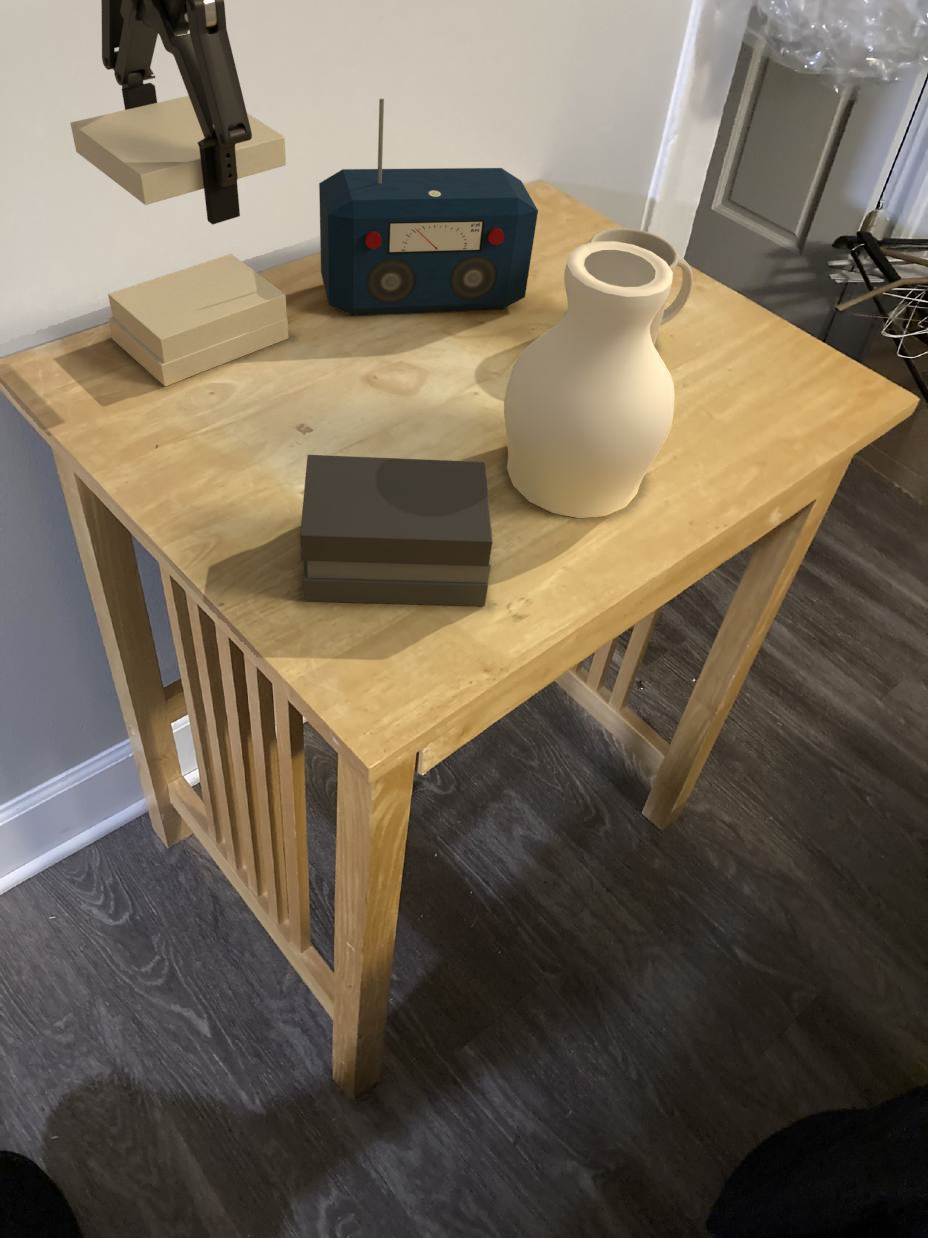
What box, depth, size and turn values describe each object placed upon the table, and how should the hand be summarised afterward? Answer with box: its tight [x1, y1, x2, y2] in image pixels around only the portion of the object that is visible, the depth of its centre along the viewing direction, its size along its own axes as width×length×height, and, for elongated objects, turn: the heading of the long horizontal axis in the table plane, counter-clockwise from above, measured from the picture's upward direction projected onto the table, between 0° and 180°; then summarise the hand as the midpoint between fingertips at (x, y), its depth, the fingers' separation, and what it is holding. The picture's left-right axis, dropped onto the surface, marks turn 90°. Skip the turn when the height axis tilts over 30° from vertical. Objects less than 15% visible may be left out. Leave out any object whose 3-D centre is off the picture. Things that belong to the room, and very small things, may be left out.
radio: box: [318, 98, 539, 317], centre depth 97 cm, size 21×9×20 cm, turn 103°
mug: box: [588, 227, 694, 347], centre depth 99 cm, size 11×10×10 cm
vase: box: [503, 241, 676, 519], centre depth 80 cm, size 14×14×20 cm
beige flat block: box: [69, 95, 287, 206], centre depth 81 cm, size 14×11×2 cm
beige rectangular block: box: [107, 253, 289, 387], centre depth 94 cm, size 14×10×5 cm
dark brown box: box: [299, 454, 493, 607], centre depth 75 cm, size 14×9×7 cm, turn 93°
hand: (185, 190), depth 84 cm, fingers closed on beige flat block, 11 cm apart
